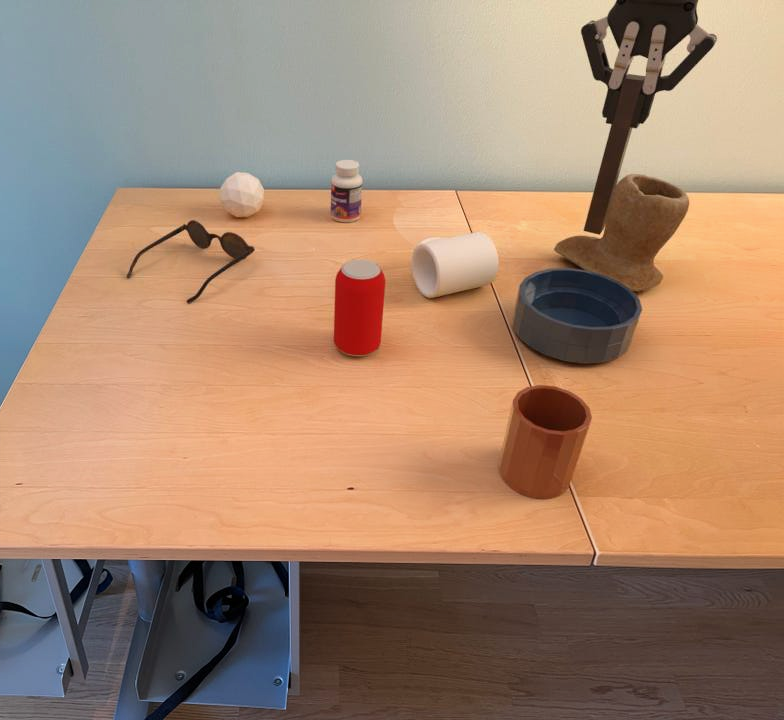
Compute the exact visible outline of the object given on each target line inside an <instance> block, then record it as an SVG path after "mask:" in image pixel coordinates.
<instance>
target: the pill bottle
mask: <svg viewBox="0 0 784 720" xmlns="http://www.w3.org/2000/svg"><path fill="white" fill-rule="evenodd" d="M334 171H335V174H333V175H332V177H331V182H330V217H331V218H332V220H334V221H336V222H341V223H353V222H356V221H358V220H359V219H360V218H361V214H362V200H363V199H362V198H363V195H362V194H363V177H362V176H361V174H359V173H360V164H359V162H358V161H356V160H353V159H341V160H338V161H336V163H335V170H334Z"/></svg>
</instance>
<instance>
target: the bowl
mask: <svg viewBox="0 0 784 720" xmlns="http://www.w3.org/2000/svg"><path fill="white" fill-rule="evenodd" d="M516 295H517V296H516V300H515V304H514V310H513V315H512V329H513V330H514V332H515V334H516V335H517V337H518V338H519V339H520V340H521V341H522V342H524V343H525V344H526V345H527V346H528V347H529V348H531V349H532V350H535V351H537V352H539V353H540V354H542V355H545V356H547V357H550V358H553V359H557V360H560V361H563V362H569V363H577V364H601V363H606V362H609V361H613V360H616V359H619V358H620V357H621V356H623V355H624V354H625V353H627V352H628V350H629V349H630V346H631V343H632V341H633V338H634V335H635V332H636V329H637V326H638V324H639V320H640V317H641V314H642V312H643V307H642V303H641V299H640V298H639V297H638V296H637V294H636V293H635V291H632V290H631V289H629V288H628V287H626V286H625V285H623V284H622V283H620V282H619V281H616V280H614V279H612V278H609V277H607V276H605V275H602V274H598V273H594V272H590V271H586V270H584V269H580V268H579V269H578V268H570V267H560V268H559V267H558V268H555V267H554V268H547V269H543V270H538V271H535V272H533V273H531V274H529V275H527V276H525V277H524V278H523V280H522V281H521V283H520V284H519V286H518V292H517V294H516Z"/></svg>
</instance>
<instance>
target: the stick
mask: <svg viewBox="0 0 784 720" xmlns="http://www.w3.org/2000/svg"><path fill="white" fill-rule="evenodd" d="M644 80H645V75H641V74H631V73H627V75H626V76H625V77H624V79H623V83H622V86H621V90H620V91H621V92H620V96H619V99H618V103H617V107H616V111H615V114H614V118H613V122H612V124H610V128H609V132H608V136H607V140H606V144H605V147H604V151H603V155H602V158H601V162H600V167H599V170H598V174H597V177H596V182H595V185H594V189H593V192H592V196H591V200H590V204H589V207H588V212H587V216H586V219H585V222H584V227H583V232H586V233H590V234H595V235H597V236H598V235H599V236H600V235H601V234H602V232H604V230H605V223H606V220H607V216H608V212H609V209H610V205H611V202H612V198H613V195H614V191H615V188H616V185H617V184H618V182H619V181H618V180H619V177H620V174H621V170H622V166H623V164H624V159H625V155H626V152H627V148H628V146H629V145H628V144H629V141H630V137H631V135H632V131H633V128H630V124H631V121H632V117H633V114H634V110H635V106H636V103H637V99H638V96H639V94H640V93H641V92H642V90H643V85H644Z"/></svg>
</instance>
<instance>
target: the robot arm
mask: <svg viewBox="0 0 784 720" xmlns="http://www.w3.org/2000/svg"><path fill="white" fill-rule="evenodd" d="M698 3H699V0H616V1H615V3H614V4H613V6H612V7H611V9H610V10H609V11H608V14H607V16H603V17H602V18H600V19H597V20H590V21H588V22H587V23H586V24H585V25H583V26H582V27H581V29H580V34H581V38H582V42H583V45H584V49H585V52H586V56H587V59H588V63H589V66H590V70H591V73H592V77H593V79H594V80H595V81H597V82H601V83H603V84H605V85H606V87H607V91H606V95H605V99H604V104H603V108H602V110H601V116H602V118H605V119H606V120H605V124H606V125H607V124H608V125H611V124H612V122H613V118H614V114H615V111H616V107H617V103H618V99H619V96H620V92H621V91H620V90H621V86H622V83H623V79H624V77H625V76H626V75H627V74H629V70H630V67H631V66H632V65H631V64H632V63H633V60H634V58H635V57H639V56H641V57H643V58H646V59H647V62H646V67H645V75H644V76H645V80H644V85H643V90H642V92H641V93H640V94H639V96H638V99H637V103H636V106H635V110H634V114H633V117H632V121H631V124H630V128H632V129H638V127H639V126H640V124H641V125H644V124H645V122H646V121H647V119H648V118H649V117H650V114H651V109H652V108H653V103H654V100H655V97H656V94H657V93H659V92H664V91H666V92H671V91H673V90H674V89H675V88H676V87H677V86H678V85H679V83H681V81H682V80H683V79H685V77H686V76H687V75H688V74H689V73H690V72H691V71H692V70H693V69H694V68H695V67H696V66H697V65H698V64H699V62H701V61H702V60H703V59H704V57H706V55H708V53H709V52H710V51H712V49H713V48H714V47H715V45H716V43H717V41H718V37H717V35H716V34H715V33H708V32H707V31H706V30H704V28H702V27H700V25H698V21H699V16H698V10H697V7H698ZM608 28H609V29H610V31H611V34H612V37H613V39H614V41H615V45H616V46H617V48H618V52H617V55H616V58H615V61H614V65H613V68H612V67H610V62H609V59H608V55H607V51H606V48H605V44H604V40H605V39H606V37H607V34H608ZM688 36H689V39H690V40H689V42H688V44H687V46H686V50H687V52H688V53H689V54H688V55H687V56H685V58H684V59H683V60H682V61H681V62H680V63H679V64H678V65H677V66H676V67H675V68H674V69H673V70H672V71H671V73H669V74H667V75H663V76H662V74H663V69H664V66H665V61H666V57H667V55H668V53H670V52H671V51H672V50H673V49H674V48H675V47H676V46H677V45H679V44H680V43H681V42H682V41H683V40H685V38H686V37H688Z"/></svg>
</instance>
